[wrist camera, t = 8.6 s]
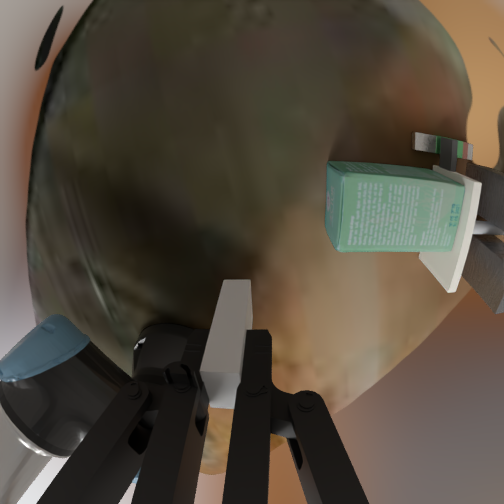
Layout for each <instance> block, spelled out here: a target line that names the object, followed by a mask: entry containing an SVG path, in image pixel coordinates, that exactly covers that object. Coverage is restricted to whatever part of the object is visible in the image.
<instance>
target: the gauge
mask: <svg viewBox="0 0 504 504" xmlns="http://www.w3.org/2000/svg"><path fill="white" fill-rule="evenodd" d="M444 138H445V137H444ZM449 139H450V138H449ZM440 146H441V136H436V135H429V134H423V133H418V132H412V149H414V150H420V151H427V152H433V153H436V154H440ZM472 153H473V145H472V144H469V143H467V142H463V141H459V140H458V149H457V158H462V159H469V160H472ZM466 176H467V177H469V178H471V179H474V180H476V181H478V182H481V183H482V186H481V193H480V199H479V205H478V211H477V214H478V215H479V216H481V217H483V218H484V219H486V220H487V221H489V222H490V223H492V224H493V225H495V226H496V227H497V228H499V229H500V230H502V231H503V232H504V173H502V172H500V171H497V170H495V169H492V168H489V167H485V166H480V165H476V164H471V163H467V169H466ZM461 275H462V276H463V277H464V279H465V280H466V281H467V282H468V283H469V284H470V285H471V286H472V287H473V289H474V290H475V291H476V292H477V293H478V294H479V295H480V297H481V298H482V299H483V300H484V301H485V303H486V304H487V305H488V306H489V307H490V309H491V310H492V311H493V312H494V313H495V314H498V313H503V312H504V242H503V241H501V240H500V239H499V238H497V237H496V236H495V235H489V234H472V239H471V243H470V246H469V250H468V254H467V257H466V261H465V264H464V268H463V271H462V274H461Z"/></svg>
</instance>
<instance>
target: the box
mask: <svg viewBox="0 0 504 504" xmlns="http://www.w3.org/2000/svg"><path fill="white" fill-rule="evenodd" d="M464 194H465V186H464V185H462V184H460V183H458V182H456V181H454V180H452V179H450V178H448V177H446V176H444V175H442V174H440V173H438V172H435V171H433V170H430V169H425V168H417V167H409V166H399V165H389V164H378V163H364V162H345V161H328V162H327V186H326V212H325V228H326V231H327V234H328V236H329V238H330V240H331V242H332V244H333V246H334V248H335V250H338V251H340V252H449V251H452V247H453V244H454V240H455V236H456V232H457V228H458V224H459V219H460V214H461V210H462V205H463V199H464Z"/></svg>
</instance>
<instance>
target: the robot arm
mask: <svg viewBox="0 0 504 504" xmlns="http://www.w3.org/2000/svg"><path fill="white" fill-rule="evenodd" d="M252 321H253V313H252V296H251V280H224V281H223V284H222V288H221V292H220V295H219V299H218V303H217V306H216V310H215V314H214V318H213V321H212V325H211V329H195V330H193V329H191V328H188V327H185V326H181V325H176V324H156V325H152V326H150V327H148V328H146V329H145V330H143V331H142V333H141V334H140V336H139V338H138V340H137V341H136V343H135V346H134V353H133V365H132V378H131V377H130V376H129V375H128V374H126V373H125V372H124V371H123V370H122V369H121V368H119V367H118V366H117V365H116V364H115V363H114V362H113V361H111V360H110V359H109V358H108V357H107V356H106V355H105V354H104V353H103V352H102V351H101V350H100V349H99V348H98V347H96V346H95V345H94V344H93V343H92V342H91V341H90V338H89V337H88V335H86V334H83V333H82V332H81V331H80V330H79V329H78V328H77V327H76V326H75V325H74V324H73V323H72V322H71V321H70V320H69V319H67V318H66V317H65V316H63V315H60V314H54V315H51V316H49V317H48V318H46V319H45V320H43V321H42V322H41V323H40V324H38V325H37V326H36V327H35V328H34V329H33V330H31V331H30V332H29V333H28V334H27V335H26V336H25V337H24V338H22V339H21V340H20V341H19V342H18V343H17V344H16V345H15V346H14V347H13V348H12V349H11V350H10V351H9V352H8V353H7V354H6V355H5V356H4V357H3V358H2V359H1V360H0V380H1V381H0V504H16V503H17V502H18V501H19V499H20V498H21V497H22V495H23V494H24V492H25V491H26V490H27V489H28V488H29V486H30V485H31V484H32V482H33V481H34V480H35V478H36V477H37V476H38V475H39V473H40V472H41V471H42V469H43V468H44V467H45V466H46V464H47V463H48V462H49V461H50V459H51V458H52V457H58V458H67V457H69V456H70V457H69V459H68V460H67V462H66V463H65V464H64V466H63V467H62V469H61V470H60V471H59V473H58V474H57V475H56V477H55V478H54V479H53V481H52V482H51V484H50V485H49V487H48V488H47V489H46V491H45V492H44V494H43V495H42V496H41V498H40V499H39V501H38V502H37V504H118V503H119V502H120V500H121V499H122V497H123V495H124V494H125V492H126V490H127V489H128V487H129V486H130V484H131V483H136V487H135V491H134V494H133V498H132V502H131V504H194V499H195V493H196V488H197V482H198V476H199V470H200V465H201V459H202V454H203V448H204V442H205V437H206V431H207V426H208V421H209V413H208V405H209V403H210V406H211V407H213V408H227V409H234V414H233V422H232V430H231V438H230V445H229V453H228V461H227V469H226V477H225V484H224V492H223V501H222V504H268V488H269V486H268V485H269V464H270V463H269V462H270V434H271V433H272V434H276V435H279V436H283V437H286V438H287V442H288V445H289V448H290V451H291V454H292V457H293V460H294V463H295V467H296V470H297V473H298V476H299V479H300V482H301V485H302V488H303V491H304V494H305V497H306V500H307V503H308V504H369V502H368V500H367V498H366V495H365V493H364V491H363V489H362V486H361V484H360V482H359V479H358V477H357V475H356V473H355V471H354V468H353V466H352V464H351V461H350V459H349V457H348V454H347V452H346V450H345V448H344V446H343V443H342V441H341V439H340V436H339V434H338V432H337V430H336V427H335V425H334V423H333V421H332V418H331V416H330V414H329V411H328V409H327V407H326V405H325V402H324V400H323V399H322V397H321V396H320V395H319V394H317V393H316V392H313V391H309V390H306V391H300V392H297V393H295V394H290V393H286V392H283V391H281V390H279V389H277V388H276V387H275V386H274V384H273V382H272V336H271V335H270V333H269V331H268V330H267V329H266V330H252Z"/></svg>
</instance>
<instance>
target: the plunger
mask: <svg viewBox="0 0 504 504" xmlns="http://www.w3.org/2000/svg"><path fill="white" fill-rule="evenodd" d="M457 149H458V140H454V139H449V138H444V137H441V146H440V162H439V166H437V165H433V171H435V172H438V173H440V174H442V175H444V176H446V177H448V178H450V179H452V180H454V181H456V182H458V183H460V184H462V185H464V186H465V194H464V199H463V205H462V210H461V214H460V219H459V224H458V228H457V232H456V236H455V240H454V244H453V247H452V251H449V252H420V254H419V259H420V260H421V261H422V262H423V263H424V265H425V266H426V267H427V268H428V269H429V270H430V272H431V273H432V274H433V275H434V276H435V278H436V279H437V280H438V281H439V282H440V284H441V285H442V286H443V287H444V289H445V290H446V291H447V292H448V293H450V292H456V289H457V286H458V283H459V280H460V277H461V274H462V271H463V268H464V264H465V261H466V257H467V254H468V250H469V246H470V243H471V239H472V234H489V235H504V232H503V231H502V230H500V229H499V228H497V227H496V226H495V225H493V224H492V223H490V222H489V221H476V216H477V211H478V205H479V199H480V193H481V186H482V183H481V182H478V181H476V180H474V179H471V178H469V177H467V176H464V175H462V174H460V173H457V172H456V163H457Z"/></svg>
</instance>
